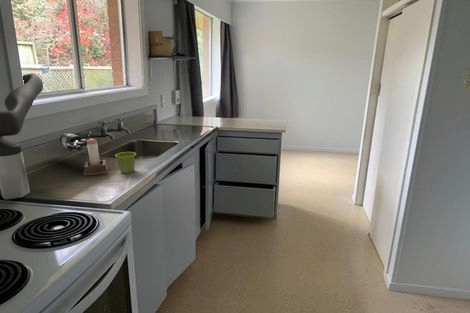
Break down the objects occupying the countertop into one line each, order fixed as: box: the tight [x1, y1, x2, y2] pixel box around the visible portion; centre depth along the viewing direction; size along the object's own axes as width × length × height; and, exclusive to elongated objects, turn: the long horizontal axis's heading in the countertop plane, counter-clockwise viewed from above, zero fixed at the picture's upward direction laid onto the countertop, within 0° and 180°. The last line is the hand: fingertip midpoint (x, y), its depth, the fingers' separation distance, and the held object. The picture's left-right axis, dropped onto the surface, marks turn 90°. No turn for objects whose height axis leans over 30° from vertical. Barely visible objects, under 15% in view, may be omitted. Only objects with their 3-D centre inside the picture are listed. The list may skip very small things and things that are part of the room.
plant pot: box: [115, 151, 137, 174], centre depth 152 cm, size 9×9×9 cm
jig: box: [84, 159, 108, 176], centre depth 153 cm, size 10×10×4 cm
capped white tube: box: [86, 138, 101, 166], centre depth 151 cm, size 4×4×15 cm
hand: (89, 146), depth 153 cm, fingers open, 8 cm apart
